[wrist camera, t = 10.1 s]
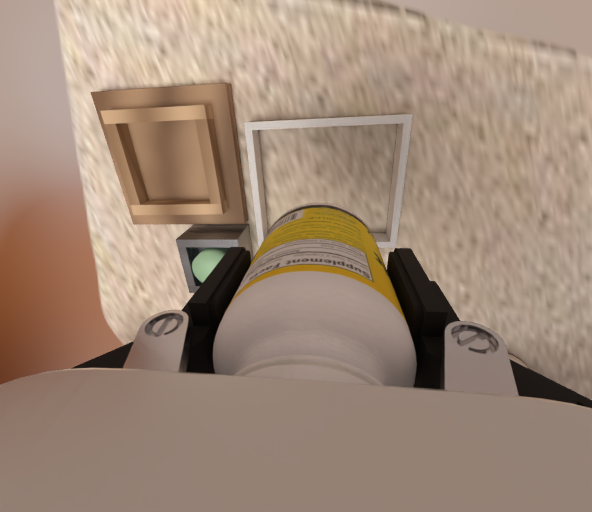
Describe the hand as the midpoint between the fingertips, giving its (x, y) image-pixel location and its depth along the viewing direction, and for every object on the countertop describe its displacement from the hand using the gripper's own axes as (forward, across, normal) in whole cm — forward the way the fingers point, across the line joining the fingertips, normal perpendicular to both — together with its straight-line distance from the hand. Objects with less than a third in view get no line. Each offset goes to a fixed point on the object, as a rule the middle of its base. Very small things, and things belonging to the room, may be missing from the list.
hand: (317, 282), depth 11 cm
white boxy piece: (+17, +11, +7) cm, 22 cm away
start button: (+15, +11, +7) cm, 20 cm away
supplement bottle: (+3, 0, 0) cm, 3 cm away
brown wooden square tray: (+17, +14, -3) cm, 22 cm away
